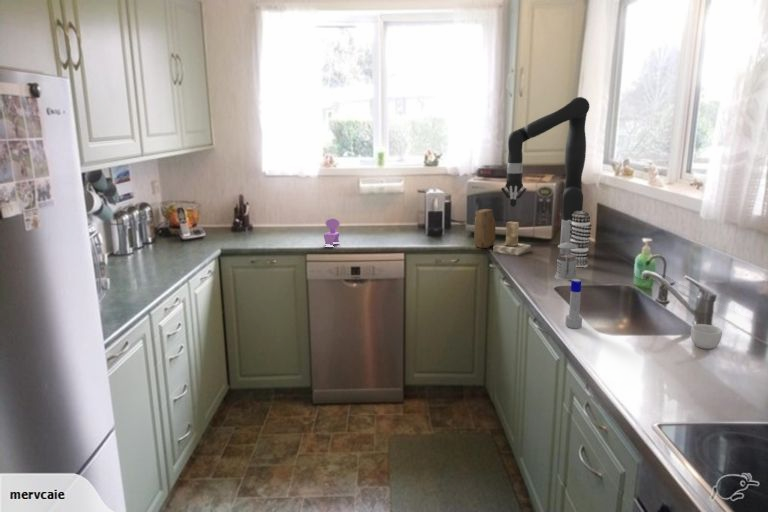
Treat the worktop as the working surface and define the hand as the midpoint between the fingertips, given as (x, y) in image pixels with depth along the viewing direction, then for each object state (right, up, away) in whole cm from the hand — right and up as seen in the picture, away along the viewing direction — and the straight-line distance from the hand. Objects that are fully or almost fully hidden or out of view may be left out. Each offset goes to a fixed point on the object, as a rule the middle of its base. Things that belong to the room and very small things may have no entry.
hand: (513, 206), depth 272 cm
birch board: (+1, -23, +6) cm, 23 cm away
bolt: (-4, -48, -96) cm, 108 cm away
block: (-11, -20, +18) cm, 29 cm away
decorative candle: (+24, -30, -24) cm, 45 cm away
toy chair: (-94, -20, +27) cm, 100 cm away
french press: (+12, -35, -44) cm, 57 cm away
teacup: (+30, -52, -113) cm, 128 cm away
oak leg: (+1, -22, +6) cm, 23 cm away
